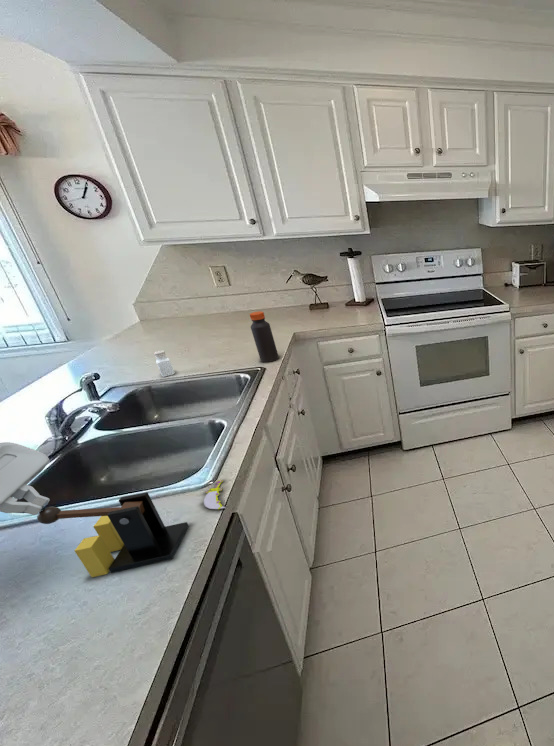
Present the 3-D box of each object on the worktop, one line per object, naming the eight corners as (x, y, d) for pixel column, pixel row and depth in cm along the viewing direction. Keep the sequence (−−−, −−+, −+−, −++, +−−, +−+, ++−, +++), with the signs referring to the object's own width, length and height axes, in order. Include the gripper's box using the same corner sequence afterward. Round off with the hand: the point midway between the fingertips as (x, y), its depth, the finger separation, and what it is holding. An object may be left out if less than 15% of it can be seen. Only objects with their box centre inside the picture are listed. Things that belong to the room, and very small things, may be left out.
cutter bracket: (110, 573, 77) (81, 526, 72) (133, 537, 85) (109, 493, 80) (172, 559, 80) (148, 513, 75) (189, 525, 88) (168, 482, 83)
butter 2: (91, 577, 77) (73, 550, 74) (100, 564, 79) (83, 538, 76) (107, 574, 77) (90, 547, 74) (115, 561, 80) (99, 534, 77)
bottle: (257, 361, 169) (242, 315, 160) (270, 355, 175) (256, 310, 166) (269, 363, 167) (256, 316, 158) (282, 357, 173) (270, 311, 164)
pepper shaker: (162, 377, 157) (153, 354, 153) (161, 374, 160) (152, 351, 156) (175, 374, 160) (166, 351, 156) (174, 371, 162) (164, 349, 158)
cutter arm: (34, 528, 73) (30, 515, 72) (46, 516, 76) (42, 503, 74) (138, 521, 78) (136, 509, 77) (145, 510, 81) (143, 498, 79)
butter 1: (108, 552, 82) (92, 526, 79) (116, 541, 84) (101, 515, 81) (123, 549, 82) (108, 523, 79) (130, 538, 85) (116, 512, 82)
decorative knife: (200, 516, 90) (226, 508, 92) (199, 514, 90) (225, 506, 92) (207, 484, 100) (231, 477, 101) (207, 483, 99) (230, 476, 101)
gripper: (-114, 503, 58) (10, 537, 64) (-3, 429, 75) (85, 462, 82) (-137, 534, 58) (-11, 565, 65) (-21, 453, 76) (68, 484, 83)
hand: (43, 507), depth 74 cm, fingers closed, pressing on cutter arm
